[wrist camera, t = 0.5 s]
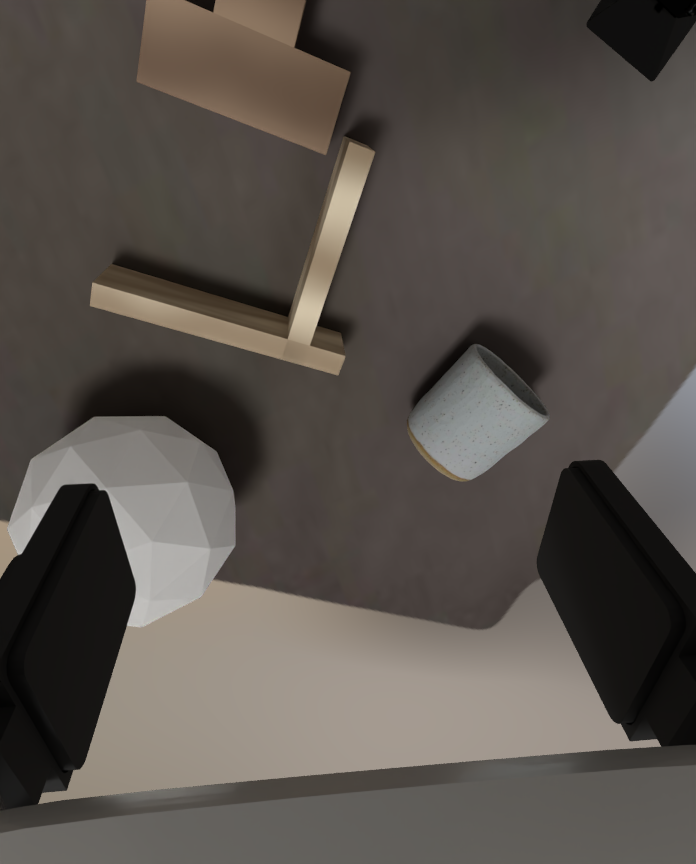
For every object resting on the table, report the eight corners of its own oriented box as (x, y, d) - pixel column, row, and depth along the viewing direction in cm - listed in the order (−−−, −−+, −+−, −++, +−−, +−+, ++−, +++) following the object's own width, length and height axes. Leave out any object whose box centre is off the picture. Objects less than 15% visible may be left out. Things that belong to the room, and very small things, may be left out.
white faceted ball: (123, 435, 48) (-64, 507, 36) (214, 357, 39) (4, 419, 27) (204, 572, 48) (44, 687, 37) (312, 525, 39) (147, 659, 27)
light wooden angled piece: (137, 53, 29) (117, 49, 26) (404, 159, 33) (416, 168, 30) (108, 285, 36) (89, 305, 32) (334, 351, 40) (338, 375, 36)
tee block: (186, -159, 25) (170, -195, 22) (383, -59, 28) (395, -78, 24) (153, 81, 30) (136, 81, 27) (322, 147, 33) (325, 155, 29)
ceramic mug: (392, 406, 43) (410, 463, 37) (461, 328, 40) (494, 374, 33) (483, 465, 47) (514, 525, 41) (553, 398, 44) (598, 451, 38)
